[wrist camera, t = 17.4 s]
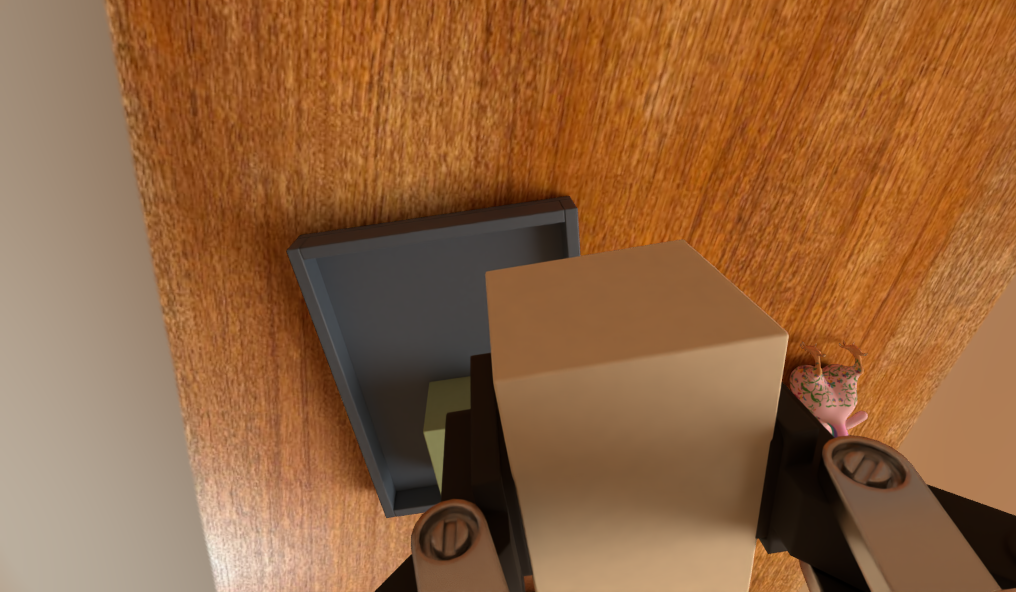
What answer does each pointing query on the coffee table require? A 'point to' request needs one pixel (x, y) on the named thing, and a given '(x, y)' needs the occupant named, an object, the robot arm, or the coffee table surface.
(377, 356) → the tray
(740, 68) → the coffee table surface
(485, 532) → the robot arm
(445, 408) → the sage pad
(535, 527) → the cream pad
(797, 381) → the rabbit figure
